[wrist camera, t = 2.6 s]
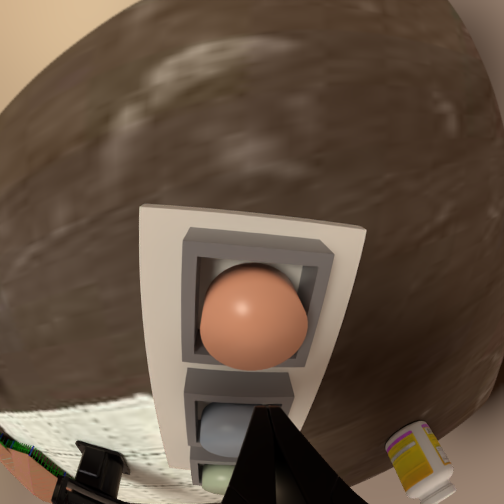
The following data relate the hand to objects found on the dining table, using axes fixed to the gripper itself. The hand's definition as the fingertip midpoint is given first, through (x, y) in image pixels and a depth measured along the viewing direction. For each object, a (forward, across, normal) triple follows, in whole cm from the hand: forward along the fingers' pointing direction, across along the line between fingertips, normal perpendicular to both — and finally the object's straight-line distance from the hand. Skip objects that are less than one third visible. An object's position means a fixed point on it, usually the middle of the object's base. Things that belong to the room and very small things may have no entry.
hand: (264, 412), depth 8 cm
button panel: (+10, 0, +10) cm, 14 cm away
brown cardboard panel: (+10, +37, +52) cm, 64 cm away
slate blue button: (+7, 0, +10) cm, 12 cm away
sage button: (+7, 0, +20) cm, 21 cm away
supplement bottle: (+10, -24, +22) cm, 34 cm away
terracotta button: (+7, 0, 0) cm, 7 cm away
